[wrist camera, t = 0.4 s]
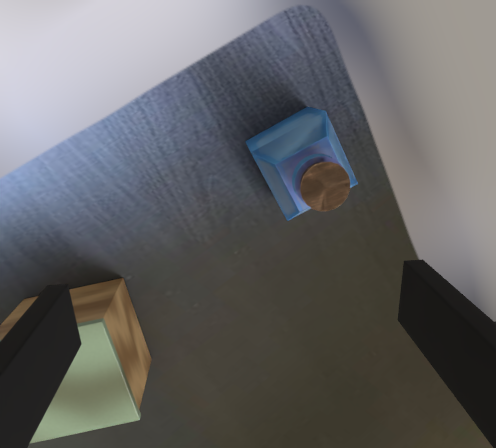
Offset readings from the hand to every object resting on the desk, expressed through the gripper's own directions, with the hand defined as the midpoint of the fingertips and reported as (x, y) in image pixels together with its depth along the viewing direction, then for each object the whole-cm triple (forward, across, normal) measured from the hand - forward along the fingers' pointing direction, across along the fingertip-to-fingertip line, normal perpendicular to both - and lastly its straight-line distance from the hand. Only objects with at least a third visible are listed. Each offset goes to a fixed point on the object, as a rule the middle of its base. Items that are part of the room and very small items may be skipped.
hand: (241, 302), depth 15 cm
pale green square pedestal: (+22, -15, -15) cm, 30 cm away
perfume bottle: (+22, +6, +2) cm, 23 cm away
